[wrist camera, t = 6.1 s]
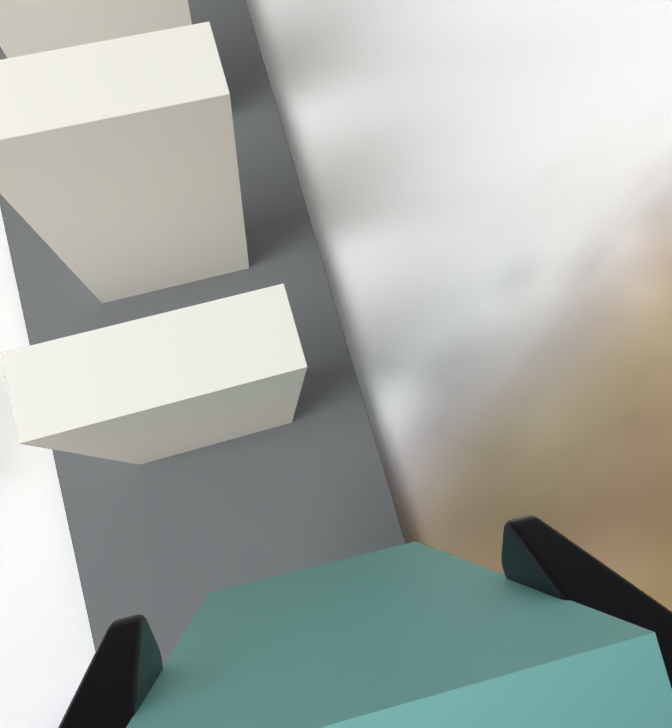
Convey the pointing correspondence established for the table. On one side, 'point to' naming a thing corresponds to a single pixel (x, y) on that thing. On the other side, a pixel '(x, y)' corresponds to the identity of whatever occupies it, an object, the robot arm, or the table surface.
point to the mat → (232, 457)
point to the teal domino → (406, 654)
